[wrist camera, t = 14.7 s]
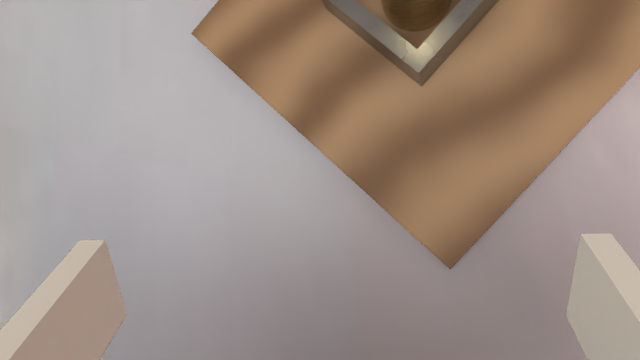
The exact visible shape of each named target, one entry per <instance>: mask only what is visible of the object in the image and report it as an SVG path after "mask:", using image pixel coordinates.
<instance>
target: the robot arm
mask: <svg viewBox="0 0 640 360" xmlns="http://www.w3.org/2000/svg"><path fill="white" fill-rule="evenodd" d="M126 315H127V314H126V310H125V307H124V303H123V300H122V296H121V293H120V290H119V286H118V283H117V279H116V276H115V272H114V269H113V265H112V262H111V259H110V255H109V252H108V248H107V245H106V241H105V240H80V241H79V242H78V243H77V244H76V245H75V246H74V247H73V249H72V250H71V251H70V252H69V253H68V254H67V255H66V256H65V258H64V259H63V260H62V261H61V262H60V263H59V264H58V266H57V267H56V268H55V269H54V270H53V271H52V272H51V274H50V275H49V276H48V277H47V278H46V279H45V280H44V281H43V283H42V284H41V285H40V286H39V287H38V288H37V289H36V291H35V292H34V293H33V294H32V295H31V296H30V297H29V299H28V300H27V301H26V302H25V303H24V304H23V305H22V306H21V308H20V309H19V310H18V311H17V312H16V313H15V314H14V316H13V317H12V318H11V319H10V320H9V321H8V322H7V324H6V325H5V326H4V327H3V328H2V329H1V330H0V360H100V359H101V357H102V355H103V354H104V352H105V350H106V349H107V347H108V345H109V344H110V342H111V340H112V339H113V337H114V335H115V334H116V332H117V330H118V329H119V327H120V325H121V324H122V322H123V320H124V319H125V317H126ZM566 317H567V319H568V321H569V323H570V325H571V327H572V329H573V331H574V333H575V335H576V337H577V339H578V341H579V343H580V345H581V347H582V349H583V351H584V353H585V355H586V357H587V359H588V360H640V271H639V269H638V268H637V267H636V265H635V264H634V263H633V261H632V260H631V259H630V257H629V256H628V255H627V254H626V252H625V251H624V250H623V248H622V247H621V246H620V244H619V243H618V242H617V240H616V239H615V238H614V236H613V235H612V234H611V233H604V234H580V240H579V246H578V251H577V257H576V262H575V268H574V273H573V279H572V285H571V290H570V296H569V301H568V307H567V313H566Z"/></svg>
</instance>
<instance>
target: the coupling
mask: <svg viewBox="0 0 640 360" xmlns="http://www.w3.org/2000/svg"><path fill="white" fill-rule="evenodd" d="M381 4H382V7H383V10H384V13H385V15H386V17H387V19H388V20H389V21H390V22H391V23H392V24H393V25H394V26H396V27H397V28H399V29H402V30H405V31H411V32H417V31H423V30H426V29H429V28H431V27H433V26H434V25H436V24H437V23H438V22H440V21H441V20H442V19H443V17H444V16H445V15H446V13H447V11H448V9H449V7H450V4H451V0H381Z"/></svg>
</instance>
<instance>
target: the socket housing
mask: <svg viewBox="0 0 640 360" xmlns="http://www.w3.org/2000/svg"><path fill="white" fill-rule="evenodd" d="M498 1H499V0H460V2H459V3H458V4H457V5H456V6H455V7H454V8H453V10H452V11H451V12H450V13H449V14H448V15H447V16H446V17H445V19H444V20H443V21H442V22H441V23H440V24H439V25H438V26H437V28H436V29H435V30H434V31H433V32H432V33H431V34H430V36H429V37H428V38H427V39H426V40H425V41H424V42H423V43H422V45H421V46H420V47H419V48H418V49H416V48H415V47H414V46H413V45H411V44H410V43H409V42H408V41H406V40H405V39H404V38H403V37H401V36H400V35H399V34H398V33H396V32H395V31H394V30H393V29H391V28H390V27H389V26H387V25H386V24H385V23H384V22H382V21H381V20H380V19H379V18H377V17H376V16H375V15H374V14H372V13H371V12H370V11H369V10H367V9H366V8H365V7H364V6H362V5H361V4H360V3H358V2H357V1H356V0H322V2H323V4H324V5H325V7H326V9H327V10H328V11H329V12H330V13H332V14H333V15H334V16H335V17H336V18H338V19H339V20H340V21H341V22H343V23H344V24H345V25H346V26H348V27H349V28H350V29H351V30H352V31H354V32H355V33H356V34H357V35H359V36H360V37H361V38H362V39H364V40H365V41H366V42H367V43H368V44H370V45H371V46H372V47H373V48H375V49H376V50H377V51H378V52H379V53H381V54H382V55H383V56H384V57H386V58H387V59H388V60H389V61H391V62H392V63H393V64H394V65H395V66H397V67H398V68H399V69H400V70H402V71H403V72H404V73H405V74H406V75H408V76H409V77H410V78H411V79H413V80H414V81H415V82H416V83H418V84H419V85H420V86H421V87H422V86H423V85H424V84H425V83H426V82H427V80H428V79H429V78H430V77H431V76H432V75H433V74H434V73H435V72H436V70H437V69H438V68H439V67H440V66H441V65H442V64H443V63H444V61H445V60H446V59H447V58H448V57H449V56H450V55H451V54H452V52H453V51H454V50H455V49H456V48H457V47H458V46H459V45H460V43H461V42H462V41H463V40H464V39H465V38H466V37H467V36H468V35H469V33H470V32H471V31H472V30H473V29H474V28H475V27H476V26H477V24H478V23H479V22H480V21H481V20H482V19H483V18H484V17H485V15H486V14H487V13H488V12H489V11H490V10H491V9H492V8H493V7H494V5H495V4H496V3H497V2H498Z"/></svg>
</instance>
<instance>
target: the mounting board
mask: <svg viewBox="0 0 640 360" xmlns="http://www.w3.org/2000/svg"><path fill="white" fill-rule="evenodd" d="M356 1H357V2H358V3H360V4H361V5H362V6H364V7H365V8H366V9H367V10H369V11H370V12H371V13H372V14H374V15H375V16H376V17H377V18H379V19H380V20H381V21H382V22H384V23H385V24H386V25H387V26H389V27H390V28H391V29H393V30H394V31H395V32H396V33H398V34H399V35H400V36H401V37H403V38H404V39H405V40H406V41H408V42H409V43H410V44H411V45H413V46H414V47H415V48H416V49H418V48H419V47H420V46H421V45H422V43H423V42H424V41H425V40H426V39H427V38H428V37H429V36H430V34H431V33H432V32H433V31H434V30H435V29H436V28H437V26H438V25H439V24H440V23H441V22H442V21H443V20H444V19H445V17H446V16H447V15H448V14H449V13H450V12H451V11H452V10H453V8H454V7H455V6H456V5H457V4H458V3H459V2H460V0H451V4H450V7H449V9H448V11H447V13H446V15H445V16H444V17H443V19H442V20H441V21H440V22H438V23H437V24H436V25H434V26H433V27H431V28H429V29H426V30H423V31H417V32H411V31H405V30H402V29H399V28H397V27H396V26H394V25H393V24H392V23H391V22H390V21H389V20H388V19H387V17H386V15H385V13H384V10H383V7H382V4H381V0H356ZM191 34H192V35H194V36H195V37H196V38H197V39H198V40H199V41H200V42H201V43H202V44H203V45H205V46H206V47H207V48H208V49H209V50H210V51H211V52H212V53H213V54H214V55H216V56H217V57H218V58H219V59H220V60H221V61H222V62H223V63H224V64H225V65H227V66H228V67H229V68H230V69H231V70H232V71H233V72H234V73H235V74H236V75H237V76H239V77H240V78H241V79H242V80H243V81H244V82H245V83H246V84H247V85H248V86H250V87H251V88H252V89H253V90H254V91H255V92H256V93H257V94H258V95H259V96H261V97H262V98H263V99H264V100H265V101H266V102H267V103H268V104H269V105H270V106H272V107H273V108H274V109H275V110H276V111H277V112H278V113H279V114H280V115H281V116H283V117H284V118H285V119H286V120H287V121H288V122H289V123H290V124H291V125H292V126H293V127H295V128H296V129H297V130H298V131H299V132H300V133H301V134H302V135H303V136H304V137H306V138H307V139H308V140H309V141H310V142H311V143H312V144H313V145H314V146H315V147H317V148H318V149H319V150H320V151H321V152H322V153H323V154H324V155H325V156H326V157H328V158H329V159H330V160H331V161H332V162H333V163H334V164H335V165H336V166H337V167H339V168H340V169H341V170H342V171H343V172H344V173H345V174H346V175H347V176H348V177H349V178H351V179H352V180H353V181H354V182H355V183H356V184H357V185H358V186H359V187H360V188H362V189H363V190H364V191H365V192H366V193H367V194H368V195H369V196H370V197H371V198H373V199H374V200H375V201H376V202H377V203H378V204H379V205H380V206H381V207H382V208H384V209H385V210H386V211H387V212H388V213H389V214H390V215H391V216H392V217H393V218H395V219H396V220H397V221H398V222H399V223H400V224H401V225H402V226H403V227H404V228H405V229H407V230H408V231H409V232H410V233H411V234H412V235H413V236H414V237H415V238H416V239H418V240H419V241H420V242H421V243H422V244H423V245H424V246H425V247H426V248H427V249H429V250H430V251H431V252H432V253H433V254H434V255H435V256H436V257H437V258H438V259H440V260H441V261H442V262H443V263H444V264H445V265H446V266H447V267H448V268H449V269H451V268H452V267H453V265H454V264H455V263H456V262H457V261H458V260H459V259H460V258H461V257H462V256H463V255H464V254H465V253H466V252H467V251H468V249H469V248H470V247H471V246H472V245H473V244H474V243H475V242H476V241H477V240H478V239H479V238H480V237H481V236H482V235H483V233H484V232H485V231H486V230H487V229H488V228H489V227H490V226H491V225H492V224H493V223H494V222H495V221H496V220H497V218H498V217H499V216H500V215H501V214H502V213H503V212H504V211H505V210H506V209H507V208H508V207H509V206H510V205H511V204H512V202H513V201H514V200H515V199H516V198H517V197H518V196H519V195H520V194H521V193H522V192H523V191H524V190H525V189H526V188H527V186H528V185H529V184H530V183H531V182H532V181H533V180H534V179H535V178H536V177H537V176H538V175H539V174H540V173H541V172H542V170H543V169H544V168H545V167H546V166H547V165H548V164H549V163H550V162H551V161H552V160H553V159H554V158H555V157H556V156H557V154H558V153H559V152H560V151H561V150H562V149H563V148H564V147H565V146H566V145H567V144H568V143H569V142H570V141H571V139H572V138H573V137H574V136H575V135H576V134H577V133H578V132H579V131H580V130H581V129H582V128H583V127H584V126H585V125H586V123H587V122H588V121H589V120H590V119H591V118H592V117H593V116H594V115H595V114H596V113H597V112H598V111H599V110H600V109H601V107H602V106H603V105H604V104H605V103H606V102H607V101H608V100H609V99H610V98H611V97H612V96H613V95H614V94H615V93H616V91H617V90H618V89H619V88H620V87H621V86H622V85H623V84H624V83H625V82H626V81H627V80H628V79H629V78H630V77H631V75H632V74H633V73H634V72H635V71H636V70H637V69H638V68H639V67H640V0H499V1H498V2H497V3H496V4H495V5H494V7H493V8H492V9H491V10H490V11H489V12H488V13H487V14H486V15H485V17H484V18H483V19H482V20H481V21H480V22H479V23H478V24H477V26H476V27H475V28H474V29H473V30H472V31H471V32H470V33H469V35H468V36H467V37H466V38H465V39H464V40H463V41H462V42H461V43H460V45H459V46H458V47H457V48H456V49H455V50H454V51H453V52H452V54H451V55H450V56H449V57H448V58H447V59H446V60H445V61H444V63H443V64H442V65H441V66H440V67H439V68H438V69H437V70H436V72H435V73H434V74H433V75H432V76H431V77H430V78H429V79H428V80H427V82H426V83H425V84H424V85H423V86H422V87H421V86H420V85H419V84H418V83H416V82H415V81H414V80H413V79H411V78H410V77H409V76H408V75H406V74H405V73H404V72H403V71H402V70H400V69H399V68H398V67H397V66H395V65H394V64H393V63H392V62H391V61H389V60H388V59H387V58H386V57H384V56H383V55H382V54H381V53H379V52H378V51H377V50H376V49H375V48H373V47H372V46H371V45H370V44H368V43H367V42H366V41H365V40H364V39H362V38H361V37H360V36H359V35H357V34H356V33H355V32H354V31H352V30H351V29H350V28H349V27H348V26H346V25H345V24H344V23H343V22H341V21H340V20H339V19H338V18H336V17H335V16H334V15H333V14H332V13H330V12H329V11H328V10H327V9H326V7H325V5H324V4H323V2H322V0H219V1H218V2H217V3H216V4H215V6H214V7H213V8H212V9H211V10H210V12H209V13H208V14H207V15H206V16H205V18H204V19H203V20H202V21H201V22H200V24H199V25H198V26H197V27H196V28H195V30H194V31H193V32H192V33H191Z"/></svg>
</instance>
